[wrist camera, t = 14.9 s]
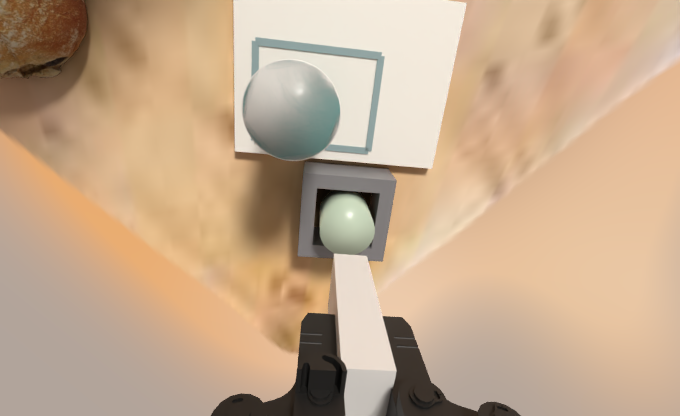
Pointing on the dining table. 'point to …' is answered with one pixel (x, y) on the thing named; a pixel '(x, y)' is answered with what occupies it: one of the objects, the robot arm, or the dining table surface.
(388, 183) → the button housing
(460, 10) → the sheet
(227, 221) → the dining table surface
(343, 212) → the button
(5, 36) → the bread roll
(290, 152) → the white-capped teal capsule
